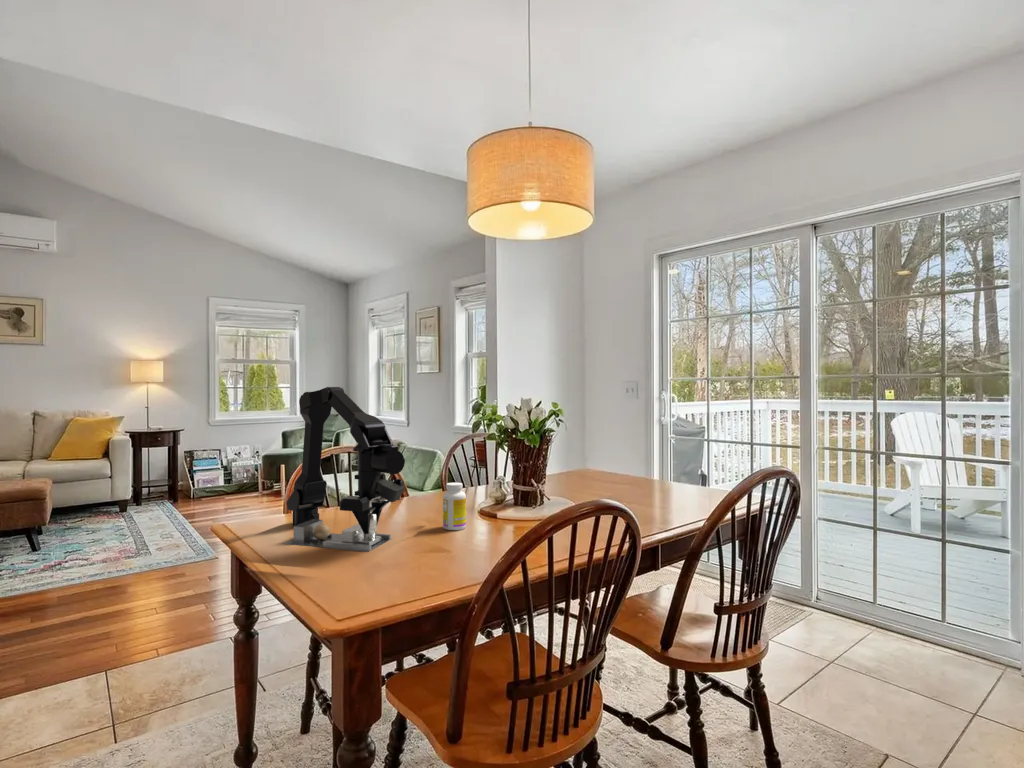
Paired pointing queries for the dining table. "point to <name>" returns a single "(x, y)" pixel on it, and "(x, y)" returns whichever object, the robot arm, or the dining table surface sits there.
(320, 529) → the tan ball
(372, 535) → the ram
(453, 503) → the supplement bottle
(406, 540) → the dining table surface
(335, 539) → the press base
